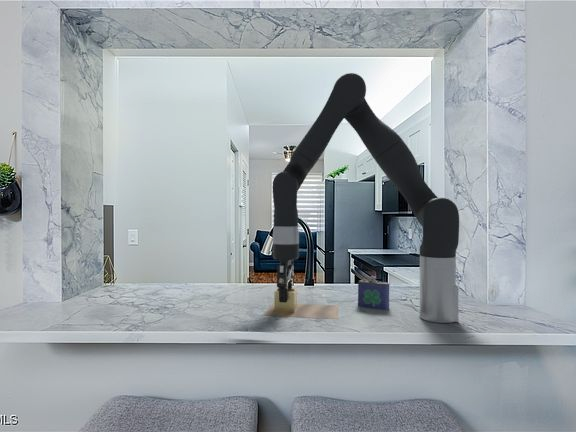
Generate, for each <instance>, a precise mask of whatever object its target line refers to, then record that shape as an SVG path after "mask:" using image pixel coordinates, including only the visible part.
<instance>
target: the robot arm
mask: <svg viewBox="0 0 576 432" xmlns="http://www.w3.org/2000/svg"><path fill="white" fill-rule="evenodd" d="M366 85H367V84H366V82H365V79H364V78H363V77H362V75H359V74H358V73H354V72H350V73H349V72H348V73H345V74H343V75H341V76H340V77H338V79H337V80H336V81H335V83H334V85H333V87H332V90H331V92H330V94H329V96H328V99H327V101H326V103H325V105H324V106H323V108H322V110H321V112H320V113H319V115H318V116H317V118H316V120H315V121H314V123H312V125H311V127H310V128H309V129H308V131H307V132H306V133H305V135H304V137H302V140H301V141H300V142H299V144H298V145H297V147H296V148H295V150H294V151H293V153H292V154H291V156H290V158H289V162H288V164H287V165H286V166H285V168H284V169H283V170H282V171H279V172H278V173H277V174H276V175H275V177H273V181H272V200H273V228H272V229H273V231H272V258H273V259H274V260H279V261H280V262H279V264H278V265H277V266H276V288H277V289H279V302H283V303H286V302H287V288H291V289H293V282H294V278H295V277H294V275H295V273H294V260H298V259H299V258H300V231H299V210H298V208H297V207H298V206H297V205H298V191H299V189H300V188H301V186H302V185H303V183H304V181H305V179H306V177H307V176H308V174H310V172H311V170H312V169H313V168H314V166H315V165H316V164H317V162H318V161H319V159H320V158H321V156H322V155H323V153H324V152H325V150H326V148H327V147H328V146H329V143H330V142H331V139H332V138H333V136H334V134H335V132H336V131H337V129H338V127H340V124H342V122H343V120H344V119H345V120H346V122H347V123H348V124H349V125H350V126H351V128H353V130H354V131H355V132H356V133H357V136H358V137H359V138H360V140H361V142H362V143H363V145H364V146H365V148H366V149H367V151H368V152H369V154H370V155H371V156H372V158H373V159H374V161H375V162H376V164H377V165H378V166H379V168H380V169H381V171H382V172H383V173H384V174H385V175H386V177H387V178H388V179H389V181H390V182H391V183H392V185H394V186H395V188H396V189H397V190H398V192H399V193H400V194H401V195H402V196H403V198H404V200H405V201H406V203H407V204H408V206H409V208H410V210H411V212H412V213H413V215H414V216H415V219H416V221H417V222H418V224H419V225H420V226H421V227H422V241H421V244H420V245H419V317H420V318H421V319H422V320H424V321H427V322H432V323H441V324H450V323H459V286H458V285H457V264H456V263H457V262H456V261H457V260H456V259H457V258H456V257H457V249H458V246H459V239H460V237H459V236H460V214H459V209H458V207H457V205H456V203H454V201H452V200H451V199H449V198H446V197H438V196H437V195H436V194H435V192H433V191H432V189H431V188H430V187H429V185H428V184H427V182H425V178H424V177H423V176H422V173H421V171H420V168H419V164H418V162H417V160H416V159H415V156H414V155H413V153H412V151H411V150H410V148H409V147H408V145H407V144H406V143H405V141H404V140H403V138H402V137H401V136H400V135H399V134H398V133H397V132H396V131H395V130H394V129H392V127H390V126H389V125H388V124H386V123H385V122H384V121H382V120H381V119H380V118H378V116H377V115H376V114H375V113H374V111H373V110H372V108H371V107H370V105H369V103H368V102H367V100H366V93H367V86H366Z"/></svg>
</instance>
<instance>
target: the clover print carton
mask: <svg viewBox="0 0 576 432" xmlns="http://www.w3.org/2000/svg"><path fill="white" fill-rule="evenodd" d="M376 278H377V276H376V275H375V276H374V275H371V276H370V279H365V278H363V279H361V280H358V283H357V293H358V294H357V295H358V296H357V306H358V307H362V308H367V309H374V310H375V309H376V310H389V309H390V283H389V282H386V281H385V282H384V281H376Z"/></svg>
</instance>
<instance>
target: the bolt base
mask: <svg viewBox="0 0 576 432" xmlns="http://www.w3.org/2000/svg"><path fill="white" fill-rule="evenodd" d="M339 308H340V306H339V305H331V304H309V303H307V304H306V303H297V308H296V310H295V312H294V313H293V312H274V302H273V303H272V304H271V305H270V306H269V308H268V309H267V310H266V311H265V312H264V314H263V315H262V316H266V317H269V316H270V317H288V318H306V319H328V320H331V319H332V320H339V312H340V311H339Z"/></svg>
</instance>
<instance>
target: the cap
mask: <svg viewBox="0 0 576 432" xmlns="http://www.w3.org/2000/svg"><path fill="white" fill-rule="evenodd" d="M273 303H274V312H293V313H294V312H295V310H296V308H297V304H298V289H297V288H292V289H291V288H287V302H286V303H283V302H279V289H278V288H276V290H274V300H273Z"/></svg>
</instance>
